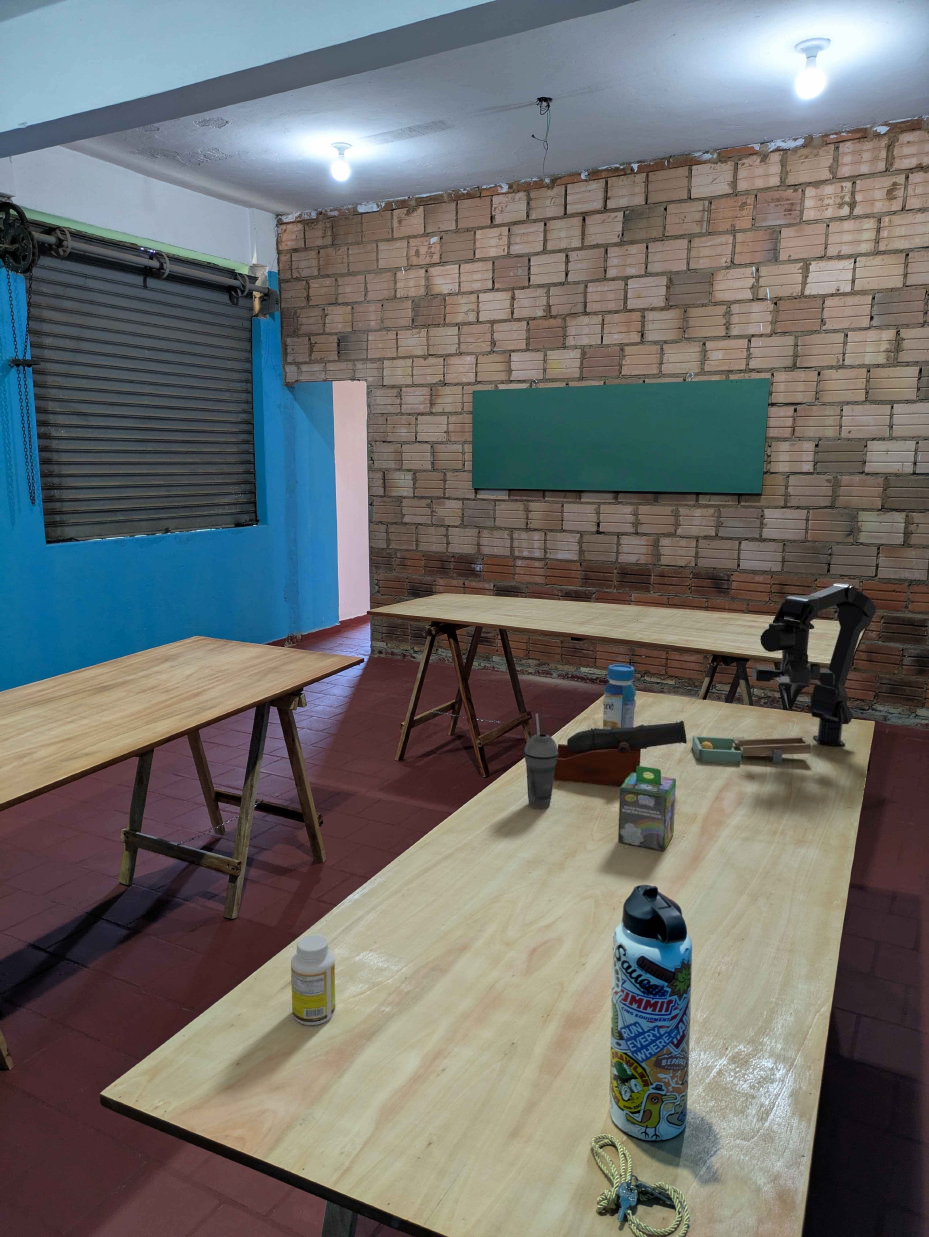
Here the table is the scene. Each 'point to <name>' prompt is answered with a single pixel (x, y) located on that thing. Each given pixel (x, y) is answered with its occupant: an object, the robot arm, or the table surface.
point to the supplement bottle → (313, 980)
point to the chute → (772, 745)
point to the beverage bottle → (619, 697)
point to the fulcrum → (776, 756)
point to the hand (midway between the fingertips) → (789, 708)
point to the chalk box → (647, 809)
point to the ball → (706, 745)
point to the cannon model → (611, 752)
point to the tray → (716, 750)
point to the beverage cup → (540, 768)
